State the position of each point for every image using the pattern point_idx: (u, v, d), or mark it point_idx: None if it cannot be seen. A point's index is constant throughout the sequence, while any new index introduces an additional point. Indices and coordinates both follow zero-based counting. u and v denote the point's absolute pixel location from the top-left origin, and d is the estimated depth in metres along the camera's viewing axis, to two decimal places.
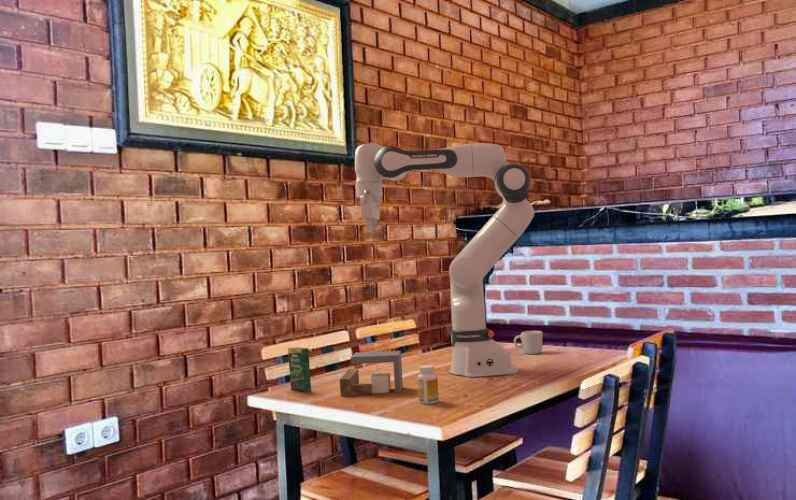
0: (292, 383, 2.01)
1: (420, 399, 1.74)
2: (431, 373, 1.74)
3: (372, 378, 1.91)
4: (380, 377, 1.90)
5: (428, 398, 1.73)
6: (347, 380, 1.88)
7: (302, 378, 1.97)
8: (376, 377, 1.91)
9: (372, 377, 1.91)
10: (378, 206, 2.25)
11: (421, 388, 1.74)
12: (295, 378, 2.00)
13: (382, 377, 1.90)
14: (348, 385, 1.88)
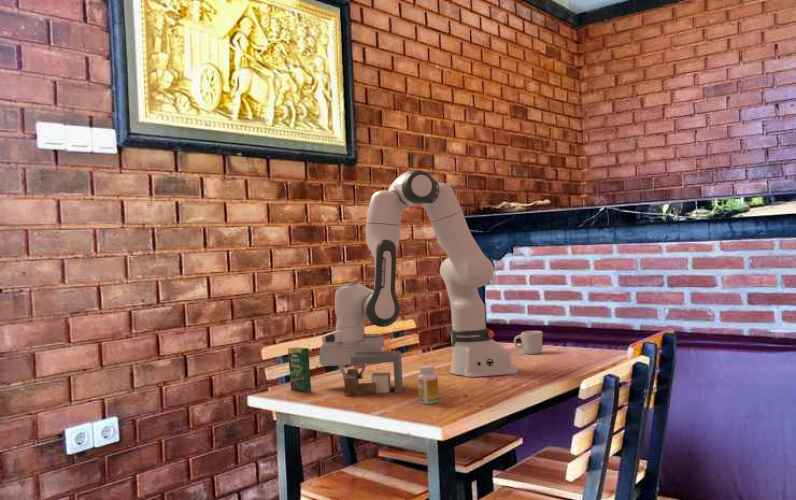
0: (292, 383, 2.01)
1: (420, 399, 1.74)
2: (431, 373, 1.74)
3: (372, 378, 1.91)
4: (380, 377, 1.90)
5: (428, 398, 1.73)
6: (352, 380, 1.88)
7: (302, 378, 1.97)
8: (376, 377, 1.91)
9: (372, 377, 1.91)
10: None
11: (421, 388, 1.74)
12: (295, 378, 2.00)
13: (382, 377, 1.90)
14: (353, 385, 1.88)
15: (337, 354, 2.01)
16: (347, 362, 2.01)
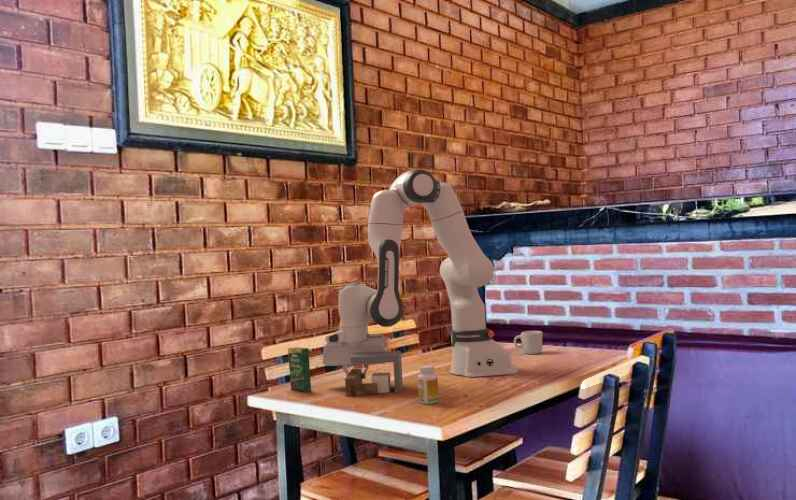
0: (292, 383, 2.01)
1: (420, 399, 1.74)
2: (431, 373, 1.74)
3: (372, 378, 1.91)
4: (380, 377, 1.90)
5: (428, 398, 1.73)
6: (352, 379, 1.88)
7: (302, 378, 1.97)
8: (376, 377, 1.91)
9: (372, 377, 1.91)
10: None
11: (421, 388, 1.74)
12: (295, 378, 2.00)
13: (382, 377, 1.90)
14: (353, 384, 1.88)
15: (340, 354, 2.01)
16: None
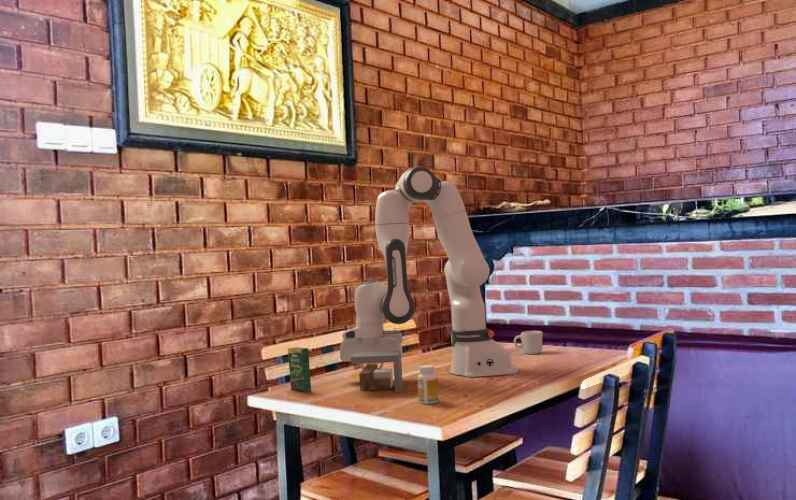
0: (292, 383, 2.01)
1: (420, 399, 1.74)
2: (431, 373, 1.74)
3: (374, 374, 1.97)
4: (382, 373, 1.96)
5: (428, 398, 1.73)
6: (366, 374, 1.95)
7: (302, 378, 1.97)
8: (378, 373, 1.96)
9: (374, 373, 1.97)
10: None
11: (421, 388, 1.74)
12: (295, 378, 2.00)
13: (384, 373, 1.96)
14: (367, 379, 1.95)
15: (357, 350, 2.08)
16: None
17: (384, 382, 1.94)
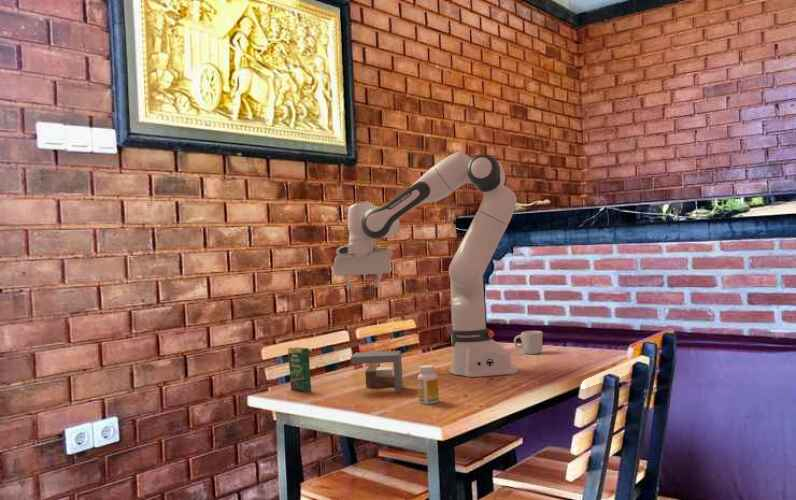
0: (292, 383, 2.01)
1: (420, 399, 1.74)
2: (431, 373, 1.74)
3: (376, 372, 2.00)
4: (384, 371, 2.00)
5: (428, 398, 1.73)
6: (372, 372, 1.98)
7: (302, 378, 1.97)
8: (380, 371, 2.00)
9: (376, 371, 2.00)
10: None
11: (421, 388, 1.74)
12: (295, 378, 2.00)
13: (386, 371, 2.00)
14: (373, 377, 1.98)
15: (349, 265, 2.26)
16: (359, 272, 2.26)
17: (390, 379, 1.98)
